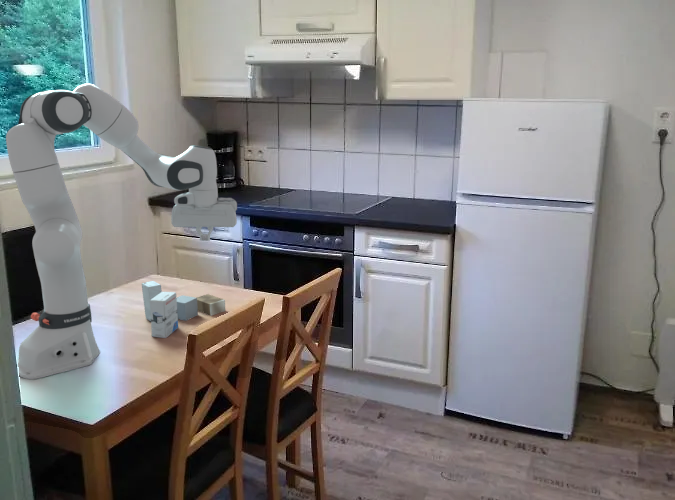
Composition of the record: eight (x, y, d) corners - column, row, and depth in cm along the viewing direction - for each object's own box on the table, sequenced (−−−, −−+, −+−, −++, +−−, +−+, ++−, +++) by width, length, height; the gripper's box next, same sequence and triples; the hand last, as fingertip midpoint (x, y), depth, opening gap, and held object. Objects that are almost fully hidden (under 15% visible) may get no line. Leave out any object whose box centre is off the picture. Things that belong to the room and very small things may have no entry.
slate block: (186, 321, 201) (184, 303, 200) (171, 318, 204) (170, 300, 202) (197, 315, 206) (196, 297, 205) (183, 312, 209) (182, 295, 207)
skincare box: (165, 320, 201) (162, 284, 198) (152, 323, 199) (148, 287, 196) (157, 315, 206) (154, 279, 203) (144, 318, 203) (141, 282, 200)
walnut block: (210, 304, 205) (193, 298, 210) (211, 315, 206) (194, 309, 211) (224, 299, 209) (207, 294, 215) (225, 311, 210) (208, 305, 216)
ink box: (164, 326, 196) (161, 290, 193) (179, 327, 195) (177, 291, 192) (151, 337, 188) (148, 299, 185) (167, 338, 187) (164, 300, 184)
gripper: (238, 196, 202) (238, 238, 205) (173, 195, 201) (175, 237, 204) (235, 199, 196) (236, 242, 199) (168, 198, 195) (171, 242, 198)
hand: (205, 240), depth 202 cm, fingers closed
